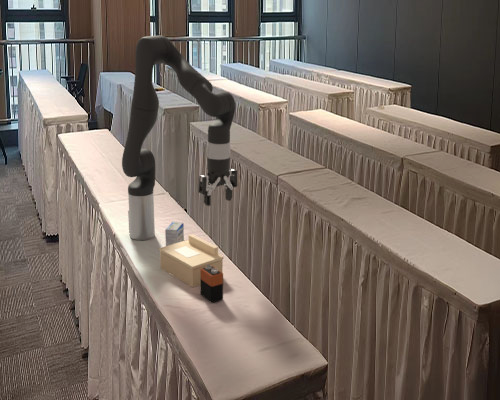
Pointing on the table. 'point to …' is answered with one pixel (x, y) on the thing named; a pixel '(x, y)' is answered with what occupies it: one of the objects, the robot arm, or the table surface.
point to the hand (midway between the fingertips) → (218, 202)
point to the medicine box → (174, 233)
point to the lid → (193, 252)
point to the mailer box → (185, 270)
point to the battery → (211, 283)
